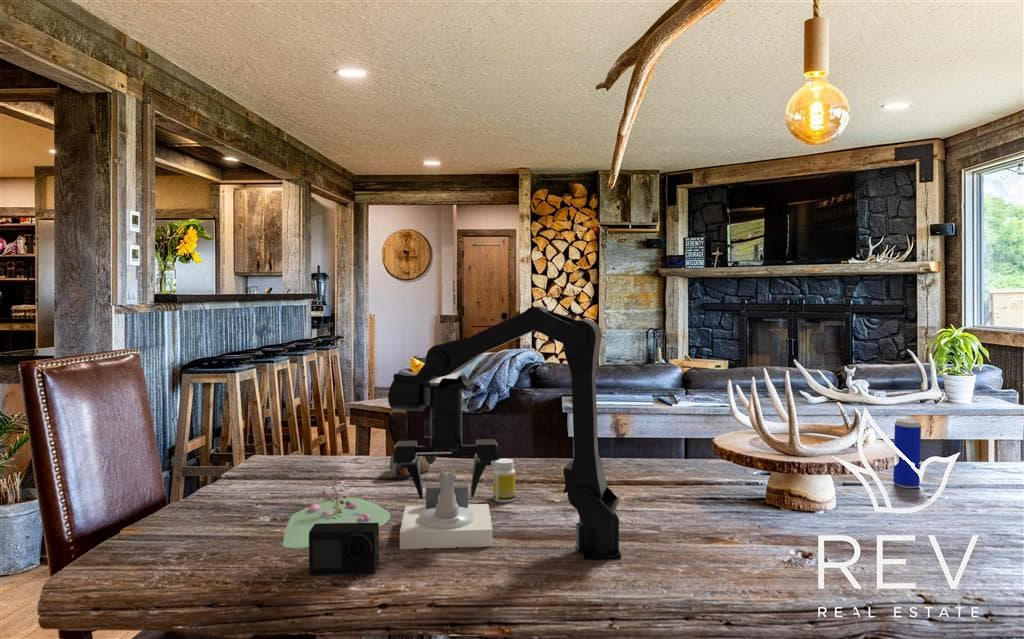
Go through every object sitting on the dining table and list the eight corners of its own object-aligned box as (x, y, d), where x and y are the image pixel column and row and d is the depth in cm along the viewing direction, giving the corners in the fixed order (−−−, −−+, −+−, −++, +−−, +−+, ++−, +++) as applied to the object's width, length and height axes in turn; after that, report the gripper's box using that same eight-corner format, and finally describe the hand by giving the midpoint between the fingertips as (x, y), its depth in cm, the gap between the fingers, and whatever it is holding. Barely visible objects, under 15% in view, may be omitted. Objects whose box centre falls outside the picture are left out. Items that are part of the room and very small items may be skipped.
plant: (366, 553, 117) (365, 501, 116) (250, 550, 118) (248, 499, 118) (400, 506, 141) (399, 463, 141) (303, 504, 143) (303, 462, 142)
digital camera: (306, 578, 105) (305, 534, 105) (315, 564, 111) (314, 522, 110) (373, 577, 106) (373, 533, 105) (379, 563, 111) (378, 521, 111)
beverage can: (919, 485, 155) (921, 420, 154) (919, 490, 151) (920, 423, 150) (893, 481, 158) (895, 417, 157) (892, 487, 153) (894, 421, 153)
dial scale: (488, 519, 132) (488, 483, 132) (492, 546, 118) (492, 506, 118) (405, 521, 131) (405, 485, 130) (399, 549, 117) (399, 509, 116)
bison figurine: (387, 482, 159) (430, 480, 158) (385, 452, 158) (428, 450, 158) (398, 469, 170) (438, 467, 170) (397, 441, 170) (436, 439, 170)
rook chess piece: (447, 508, 126) (447, 466, 126) (464, 514, 124) (465, 471, 123) (429, 514, 123) (430, 471, 122) (446, 520, 120) (447, 476, 120)
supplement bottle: (520, 499, 144) (520, 460, 144) (504, 504, 141) (504, 464, 141) (503, 494, 148) (503, 456, 147) (488, 499, 144) (488, 460, 144)
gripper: (495, 404, 131) (495, 483, 132) (397, 405, 130) (398, 486, 130) (498, 414, 120) (499, 501, 121) (392, 416, 119) (393, 504, 119)
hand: (446, 497), depth 123 cm, fingers open, 9 cm apart
